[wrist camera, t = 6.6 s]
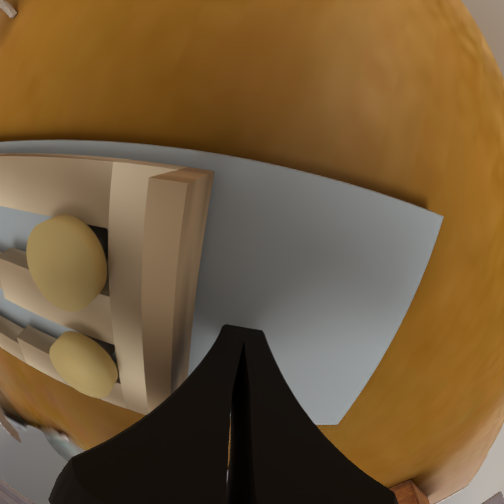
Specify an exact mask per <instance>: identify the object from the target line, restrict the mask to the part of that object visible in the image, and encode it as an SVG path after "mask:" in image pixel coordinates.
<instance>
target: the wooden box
mask: <svg viewBox="0 0 504 504" xmlns="http://www.w3.org/2000/svg"><path fill="white" fill-rule="evenodd" d="M389 489H390V490H391V491H393V492H395V495H396V498H397V501H398V504H430V503H429V500H428V497H427V496H426V495H425V494H424V493H423V492H422V491H421V490H420V489H419V488H418V487H417V486H416V485H415V484H414V483H413V481H412V480H407V481H405V482H403V483H400V484H398V485H396V486H393V487H391V488H389Z"/></svg>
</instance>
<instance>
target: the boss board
mask: <svg viewBox="0 0 504 504" xmlns="http://www.w3.org/2000/svg"><path fill="white" fill-rule="evenodd" d="M0 153H47V154H71V155H87V156H100V157H112V158H122V159H132V160H141V161H149V162H157V163H165V164H172V165H179V166H186V167H193V168H199V169H205V170H211V171H215V172H214V178H213V183H212V189H211V195H210V201H209V207H208V213H207V219H206V225H205V232H204V239H203V245H202V252H201V260H200V267H199V274H198V282H197V290H196V299H195V307H194V316H193V326H192V335H191V346H190V357H189V369H188V376H189V375H190V374H191V373H192V372H193V371H194V370H195V368H196V367H197V366H198V365H199V364H200V362H201V361H202V360H203V358H204V357H205V355H206V354H207V353H208V351H209V350H210V348H211V347H212V345H213V344H214V342H215V341H216V339H217V337H218V335H219V333H220V331H221V328H222V326H223V325H225V324H229V325H234V326H240V327H246V328H252V329H258V330H262V331H263V332H264V333H265V336H266V339H267V342H268V344H269V347H270V349H271V352H272V354H273V356H274V359H275V361H276V363H277V365H278V367H279V369H280V371H281V373H282V375H283V377H284V379H285V380H286V382H287V384H288V386H289V387H290V389H291V391H292V392H293V394H294V396H295V397H296V399H297V400H298V402H299V403H300V405H301V406H302V408H303V409H304V411H305V412H306V413H307V415H308V416H309V417H310V419H311V420H312V421H313V423H314V424H315V425H337V424H338V423H339V422H340V421H341V419H342V418H343V417H344V415H345V414H346V412H347V411H348V410H349V408H350V407H351V405H352V404H353V403H354V401H355V400H356V398H357V397H358V395H359V394H360V392H361V391H362V389H363V388H364V386H365V385H366V383H367V382H368V380H369V379H370V377H371V375H372V374H373V372H374V371H375V369H376V367H377V366H378V364H379V362H380V361H381V359H382V357H383V356H384V354H385V352H386V350H387V348H388V347H389V345H390V343H391V341H392V339H393V338H394V336H395V334H396V332H397V330H398V328H399V326H400V324H401V322H402V320H403V318H404V316H405V314H406V312H407V310H408V308H409V306H410V304H411V301H412V299H413V297H414V295H415V293H416V290H417V288H418V286H419V283H420V281H421V279H422V276H423V274H424V271H425V269H426V266H427V264H428V261H429V258H430V256H431V253H432V250H433V247H434V244H435V242H436V239H437V236H438V233H439V230H440V226H441V223H442V220H443V216H441V215H439V214H437V213H434V212H432V211H430V210H428V209H425V208H423V207H420V206H417V205H414V204H412V203H409V202H406V201H403V200H400V199H397V198H394V197H391V196H388V195H385V194H382V193H379V192H376V191H373V190H370V189H367V188H363V187H360V186H357V185H353V184H350V183H346V182H343V181H339V180H336V179H332V178H329V177H325V176H321V175H317V174H313V173H309V172H305V171H301V170H297V169H293V168H289V167H284V166H280V165H275V164H271V163H266V162H261V161H256V160H251V159H246V158H241V157H235V156H230V155H224V154H218V153H212V152H205V151H199V150H192V149H184V148H177V147H169V146H160V145H151V144H140V143H129V142H115V141H97V140H19V141H3V142H0ZM12 247H13V248H16V249H19V250H22V251H25V252H26V255H27V263H28V267H29V271H30V273H31V276H32V278H33V280H34V282H35V284H36V286H37V287H38V289H39V290H40V292H41V293H42V294H43V295H44V297H45V298H46V299H47V300H48V301H50V302H51V303H52V304H53V305H55V306H56V307H58V308H60V309H62V310H65V311H69V312H77V311H81V310H83V309H85V308H86V307H87V306H88V305H89V304H90V303H91V302H92V301H93V300H94V299H95V298H96V297H97V296H98V294H99V293H100V292H101V291H102V290H103V288H104V286H105V283H106V278H107V277H109V272H108V228H103V227H98V226H94V225H89V224H85V223H84V222H83V221H82V220H80V219H79V218H77V217H74V216H71V215H66V214H62V215H57V216H55V217H50V216H46V215H41V214H36V213H31V212H27V211H22V210H17V209H13V208H8V207H3V206H0V252H2V253H3V252H5V251H6V250H8V249H10V248H12ZM0 315H1V316H3V317H4V318H6V319H8V320H9V321H11V322H13V323H15V324H16V325H18V326H20V327H22V328H24V329H25V328H26V327H27V326H28V325H29V326H31V327H33V328H35V329H37V330H39V331H41V332H43V333H45V334H48V335H50V336H52V337H54V338H56V339H57V340H56V341H55V342H54V343H53V345H52V346H51V347H50V351H49V354H50V359H51V362H52V364H53V366H54V368H55V369H56V371H57V372H58V373H59V375H60V376H61V377H62V378H63V379H64V380H65V381H66V382H67V383H68V384H69V385H70V386H72V387H73V388H75V389H76V390H78V391H79V392H81V393H83V394H85V395H88V396H90V397H94V398H104V397H107V396H108V395H109V394H110V392H111V390H112V388H113V386H114V384H115V382H116V380H117V378H118V371H117V368H116V365H115V363H114V361H115V362H117V359H116V352H115V345H113V344H110V343H107V342H104V341H101V340H99V339H96V338H93V337H90V336H87V335H85V334H82V333H80V332H77V331H74V330H72V329H69V328H67V327H65V326H62V325H60V324H57V323H55V322H53V321H50V320H48V319H46V318H44V317H41V316H39V315H37V314H35V313H33V312H31V311H29V310H27V309H24V308H22V307H20V306H18V305H16V304H15V303H13V302H11V301H9V300H7V299H5V297H4V293H3V289H1V288H0ZM230 417H231V414H230Z"/></svg>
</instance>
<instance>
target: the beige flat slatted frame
mask: <svg viewBox="0 0 504 504" xmlns="http://www.w3.org/2000/svg"><path fill="white" fill-rule="evenodd" d="M214 172H215V171H211V170H205V169H199V168H193V167H186V166H179V165H172V164H165V163H157V162H149V161H141V160H132V159H122V158H112V157H100V156H87V155H71V154H47V153H0V206H3V207H8V208H13V209H17V210H22V211H27V212H31V213H36V214H41V215H46V216H50V217H55V216H57V215H62V214H66V215H71V216H74V217H77V218H79V219H80V220H82V221H83V222H84V223H85V224H89V225H94V226H98V227H103V228H108V272H109V277H107V278H106V283H105V286H104V288H103V290H102V291H101V292H100V293H99V294H98V296H97V297H96V298H95V299H94V300H93V301H92V302H91V303H90V304H89V305H88V306H87V307H86V308H85V309H83V310H81V311H77V312H69V311H65V310H62V309H60V308H58V307H56V306H55V305H53V304H52V303H51V302H50V301H48V300H47V299H46V298H45V297H44V295H43V294H42V293H41V292H40V290H39V289H38V287H37V286H36V284H35V282H34V280H33V278H32V276H31V273H30V271H29V267H28V263H27V255H26V252H25V251H22V250H19V249H16V248H13V247H12V248H10V249H8V250H6V251H5V252H3V253H2V252H0V288H1V289H3V293H4V297H5V299H7V300H9V301H11V302H13V303H15V304H16V305H18V306H20V307H22V308H24V309H27V310H29V311H31V312H33V313H35V314H37V315H39V316H41V317H44V318H46V319H48V320H50V321H53V322H55V323H57V324H60V325H62V326H65V327H67V328H69V329H72V330H74V331H77V332H80V333H82V334H85V335H87V336H90V337H93V338H96V339H99V340H101V341H104V342H107V343H110V344H113V345H115V352H116V359H117V362H115V361H114V363H115V365H116V368H117V371H118V378H117V380H116V382H115V384H114V386H113V388H112V390H111V392H110V394H109V395H108V396H107V397H104V398H99V399H101V400H104V401H106V402H109V403H112V404H114V405H117V406H120V407H123V408H126V409H129V410H132V411H135V412H138V413H141V414H144V415H147V414H149V413H150V412H151V411H152V410H154V409H155V408H156V407H157V406H158V405H160V404H161V403H162V402H163V401H164V400H166V399H167V398H168V397H169V396H170V395H171V394H172V393H173V392H174V391H175V390H176V389H177V388H178V387H179V386H180V385H181V384H182V383H183V382H184V381H185V380H186V379H187V378H188V369H189V357H190V346H191V335H192V326H193V316H194V307H195V299H196V290H197V282H198V274H199V267H200V260H201V252H202V245H203V239H204V232H205V225H206V219H207V213H208V207H209V201H210V195H211V189H212V183H213V178H214ZM56 340H57V339H56V338H54V337H52V336H50V335H48V334H45V333H43V332H41V331H39V330H37V329H35V328H33V327H31V326H29V325H28V326H27V327H26V328H25V329H24V328H22V327H20V326H18V325H16V324H15V323H13V322H11V321H9V320H8V319H6V318H4V317H3V316H1V315H0V347H1V348H3V349H4V350H6V351H8V352H9V353H11V354H12V355H14V356H15V357H17V358H19V359H20V360H22V361H24V362H25V363H27V364H29V365H30V366H32V367H34V368H36V369H37V370H39V371H41V372H43V373H45V374H47V375H49V376H51V377H52V378H54V379H56V380H58V381H60V382H62V383H65V384H67V385H69V384H68V383H67V382H66V381H65V380H64V379H63V378H62V377H61V376H60V375H59V373H58V372H57V371H56V369H55V368H54V366H53V364H52V362H51V359H50V354H49V351H50V347H51V346H52V345H53V343H54V342H55V341H56ZM69 386H70V385H69ZM71 387H72V386H71Z"/></svg>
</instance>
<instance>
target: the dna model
mask: <svg viewBox="0 0 504 504" xmlns="http://www.w3.org/2000/svg"><path fill="white" fill-rule="evenodd" d="M0 8H1V9H3V10H4V11H5V12H6V13H7V14H8V16H9V17H10V18H14V17H15V15H16V14H17V12H16V11H15V10H14V8H13V7H12V6H11V4H9V3H7V2H6V1H4V0H0Z"/></svg>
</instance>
